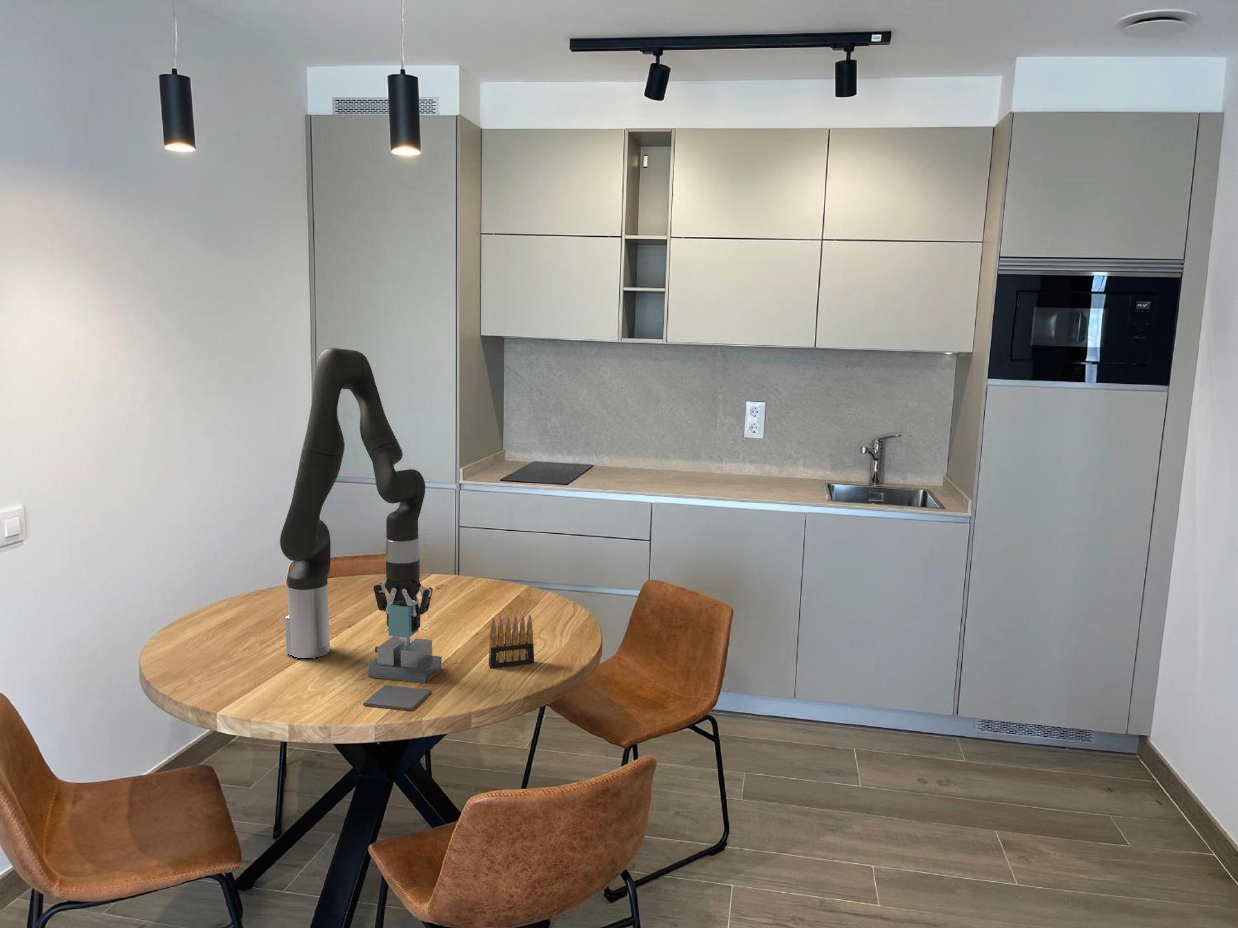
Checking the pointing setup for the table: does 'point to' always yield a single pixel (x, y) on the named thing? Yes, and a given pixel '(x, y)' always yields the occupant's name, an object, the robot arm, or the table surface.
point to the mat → (397, 697)
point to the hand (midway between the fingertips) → (403, 629)
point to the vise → (405, 660)
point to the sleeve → (400, 620)
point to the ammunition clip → (511, 644)
